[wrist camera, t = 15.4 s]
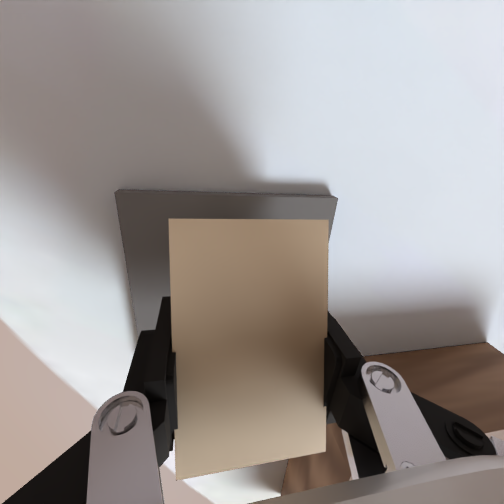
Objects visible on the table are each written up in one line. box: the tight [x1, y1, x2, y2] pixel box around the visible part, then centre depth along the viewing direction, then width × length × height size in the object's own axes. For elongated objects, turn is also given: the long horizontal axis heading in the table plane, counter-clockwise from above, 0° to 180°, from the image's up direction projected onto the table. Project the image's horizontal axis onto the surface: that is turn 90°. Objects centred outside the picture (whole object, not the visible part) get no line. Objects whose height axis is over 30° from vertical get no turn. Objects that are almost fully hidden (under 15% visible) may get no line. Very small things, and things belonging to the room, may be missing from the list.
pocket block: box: [281, 342, 504, 496], centre depth 21 cm, size 19×16×6 cm
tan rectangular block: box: [169, 219, 329, 481], centre depth 9 cm, size 8×5×3 cm, turn 175°
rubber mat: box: [115, 190, 338, 338], centre depth 14 cm, size 10×10×1 cm
